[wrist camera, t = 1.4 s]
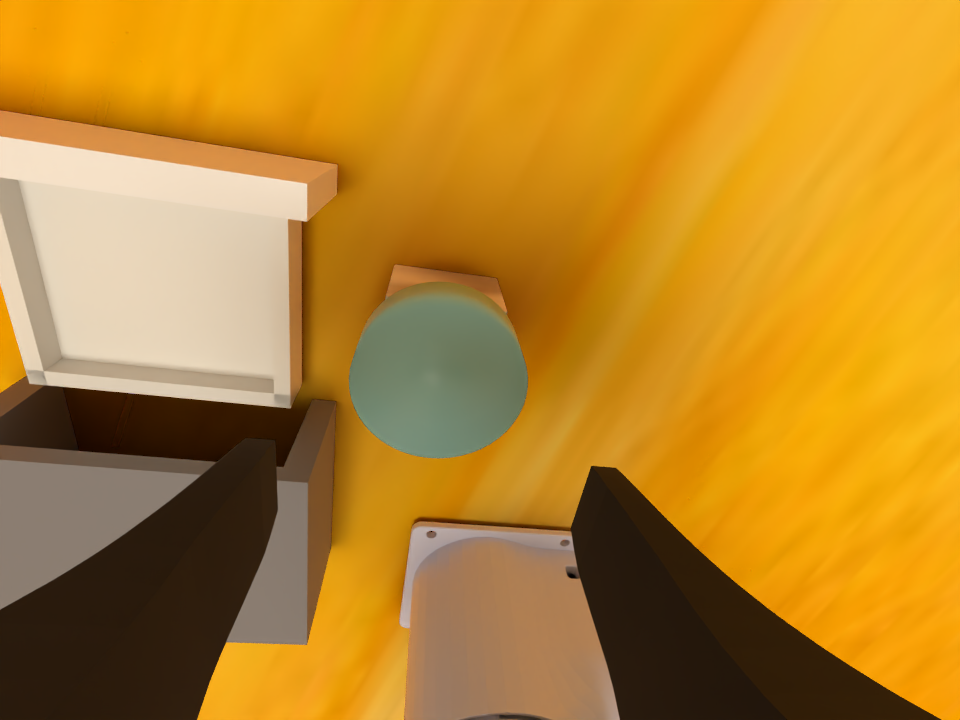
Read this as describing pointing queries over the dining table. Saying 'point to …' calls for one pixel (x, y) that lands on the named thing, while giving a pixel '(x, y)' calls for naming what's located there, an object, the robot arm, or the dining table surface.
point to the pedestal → (416, 275)
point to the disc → (438, 371)
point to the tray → (154, 261)
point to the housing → (152, 508)
